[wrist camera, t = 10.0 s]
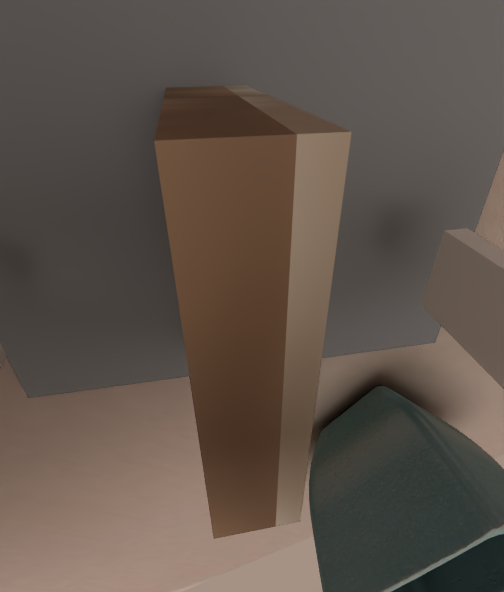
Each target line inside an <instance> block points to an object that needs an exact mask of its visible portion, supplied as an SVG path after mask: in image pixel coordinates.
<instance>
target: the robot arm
mask: <svg viewBox="0 0 504 592" xmlns="http://www.w3.org/2000/svg"><path fill="white" fill-rule="evenodd" d="M421 306H422V307H423V308H424V309H425V310H426V311H427V312H428V313H429V314H430V315H431V316H432V317H433V318H434V319H435V320H436V321H437V322H438V323H439V324H440V325H441V326H442V327H443V328H444V329H445V330H446V331H447V332H448V333H449V334H450V335H451V336H452V337H453V338H454V339H455V340H456V341H457V342H458V343H459V344H460V345H461V346H462V347H463V348H464V349H465V350H466V351H467V352H468V353H469V354H470V355H471V356H472V357H473V358H474V359H475V360H476V361H477V362H478V363H479V364H480V365H481V366H482V367H483V368H484V369H485V370H486V371H487V372H488V373H489V374H490V375H491V376H492V377H493V378H494V380H495V381H496V382H497V383H498V384H499V385H500V386H501V387H502V388H503V389H504V250H503V249H501V248H500V247H498V246H496V245H495V244H493V243H491V242H490V241H488V240H486V239H484V238H483V237H481V236H479V235H478V234H476V233H474V232H473V231H471V230H469V229H468V228H465V229H454V230H444V233H443V236H442V240H441V243H440V246H439V249H438V253H437V256H436V259H435V262H434V266H433V269H432V272H431V275H430V279H429V282H428V285H427V288H426V292H425V295H424V298H423V301H422V305H421ZM6 357H7V355H6V353H5V351H4V349H3V347H2V345H1V343H0V368H1V366H2V364H3V362H4V360H5V359H6Z"/></svg>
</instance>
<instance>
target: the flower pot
mask: <svg viewBox="0 0 504 592" xmlns="http://www.w3.org/2000/svg"><path fill="white" fill-rule="evenodd" d="M309 503H310V514H311V521H312V528H313V535H314V541H315V547H316V553H317V559H318V565H319V572H320V577H321V583H322V589H323V592H504V469H503V468H502V467H501V466H500V465H499V464H498V463H497V462H496V461H495V460H494V459H493V458H492V457H491V456H490V455H489V454H488V453H487V452H485V451H484V450H483V449H482V448H481V447H480V446H478V445H477V444H476V443H475V442H473V441H472V440H471V439H469V438H468V437H467V436H465V435H464V434H463V433H461V432H460V431H458V430H457V429H455V428H454V427H452V426H451V425H449V424H448V423H446V422H445V421H443V420H441V419H440V418H438V417H436V416H435V415H433V414H431V413H429V412H428V411H426V410H424V409H423V408H421V407H419V406H418V405H416V404H414V403H413V402H411V401H409V400H408V399H406V398H404V397H403V396H401V395H400V394H398V393H396V392H394V391H393V390H391V389H389V388H387V387H385V386H378V387H376V388H374V389H373V390H371V391H370V392H369V393H368V394H366V395H365V396H364V397H363V398H361V399H360V400H359V401H358V402H356V403H355V404H354V405H353V406H352V407H350V408H349V409H348V410H347V411H345V412H344V413H343V414H342V415H340V416H339V417H338V418H336V419H335V420H334V421H333V422H331V423H330V424H329V425H328V426H326V427H325V428H324V429H323V430H322V431H321V432H320V435H319V438H318V441H317V444H316V447H315V450H314V454H313V459H312V463H311V469H310V479H309Z"/></svg>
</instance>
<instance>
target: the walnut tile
mask: <svg viewBox="0 0 504 592" xmlns="http://www.w3.org/2000/svg"><path fill="white" fill-rule="evenodd" d="M351 133H352V132H351V131H349V130H346V129H344V128H342V127H340V126H337V125H335V124H333V123H330V122H328V121H326V120H324V119H321V118H319V117H317V116H315V115H312V114H310V113H308V112H305V111H303V110H301V109H299V108H296V107H294V106H292V105H289V104H287V103H285V102H283V101H280V100H278V99H276V98H274V97H271V96H269V95H267V94H264V93H262V92H260V91H258V90H255V89H253V88H251V87H249V86H206V87H166V90H165V95H164V99H163V103H162V108H161V112H160V117H159V121H158V126H157V130H156V135H155V139H154V143H155V150H156V157H157V163H158V170H159V177H160V183H161V190H162V197H163V203H164V210H165V217H166V223H167V230H168V237H169V243H170V250H171V257H172V263H173V270H174V277H175V283H176V290H177V297H178V303H179V310H180V317H181V323H182V330H183V337H184V343H185V350H186V357H187V363H188V370H189V377H190V383H191V390H192V397H193V403H194V410H195V417H196V423H197V430H198V437H199V443H200V450H201V457H202V463H203V470H204V477H205V483H206V490H207V497H208V503H209V510H210V517H211V523H212V530H213V537H214V539H215V538H220V537H225V536H230V535H235V534H240V533H245V532H250V531H255V530H260V529H265V528H270V527H275V526H280V525H285V524H290V523H295V522H300V518H301V511H302V503H303V496H304V488H305V481H306V473H307V466H308V458H309V450H310V443H311V435H312V428H313V420H314V413H315V405H316V397H317V390H318V382H319V375H320V367H321V360H322V352H323V344H324V337H325V329H326V322H327V314H328V307H329V299H330V291H331V284H332V276H333V269H334V261H335V254H336V246H337V238H338V231H339V223H340V216H341V208H342V201H343V193H344V186H345V178H346V170H347V163H348V155H349V148H350V140H351Z"/></svg>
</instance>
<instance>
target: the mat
mask: <svg viewBox="0 0 504 592" xmlns="http://www.w3.org/2000/svg"><path fill="white" fill-rule="evenodd" d="M206 86H249V87H251V88H253V89H255V90H258V91H260V92H262V93H264V94H267V95H269V96H271V97H274V98H276V99H278V100H280V101H283V102H285V103H287V104H289V105H292V106H294V107H296V108H299V109H301V110H303V111H305V112H308V113H310V114H312V115H315V116H317V117H319V118H321V119H324V120H326V121H328V122H330V123H333V124H335V125H337V126H340V127H342V128H344V129H346V130H349V131H351V132H352V133H351V140H350V148H349V155H348V163H347V170H346V178H345V186H344V193H343V201H342V208H341V216H340V223H339V231H338V238H337V246H336V254H335V261H334V269H333V276H332V284H331V291H330V299H329V307H328V314H327V322H326V329H325V337H324V344H323V352H322V358H325V357H333V356H340V355H347V354H355V353H362V352H369V351H377V350H384V349H391V348H399V347H406V346H413V345H421V344H428V343H435V341H436V338H437V336H438V333H439V330H440V327H441V325H440V324H439V323H438V322H437V321H436V320H435V319H434V318H433V317H432V316H431V315H430V314H429V313H428V312H427V311H426V310H425V309H424V308H423V307H422V306H421V305H422V301H423V298H424V295H425V292H426V288H427V285H428V282H429V279H430V275H431V272H432V269H433V266H434V262H435V259H436V256H437V253H438V249H439V246H440V243H441V240H442V236H443V233H444V230H454V229H465V228H468V229H469V230H471V231H473V232H475V229H476V227H477V224H478V221H479V218H480V215H481V213H482V210H483V207H484V204H485V201H486V199H487V196H488V193H489V190H490V187H491V185H492V182H493V179H494V176H495V173H496V171H497V168H498V165H499V162H500V159H501V157H502V154H503V151H504V0H0V343H1V345H2V347H3V349H4V351H5V353H6V355H7V359H8V361H9V363H10V365H11V366H12V368H13V370H14V372H15V374H16V376H17V378H18V380H19V382H20V384H21V386H22V387H23V389H24V391H25V393H26V395H27V397H28V398H33V397H40V396H47V395H55V394H62V393H69V392H77V391H84V390H91V389H99V388H106V387H113V386H120V385H128V384H135V383H142V382H150V381H157V380H164V379H172V378H179V377H186V376H189V370H188V363H187V357H186V350H185V343H184V337H183V330H182V323H181V317H180V310H179V303H178V297H177V290H176V283H175V277H174V270H173V263H172V257H171V250H170V243H169V237H168V230H167V223H166V217H165V210H164V203H163V197H162V190H161V183H160V177H159V170H158V163H157V157H156V150H155V143H154V139H155V135H156V130H157V126H158V121H159V117H160V112H161V108H162V103H163V99H164V95H165V90H166V87H206Z"/></svg>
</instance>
